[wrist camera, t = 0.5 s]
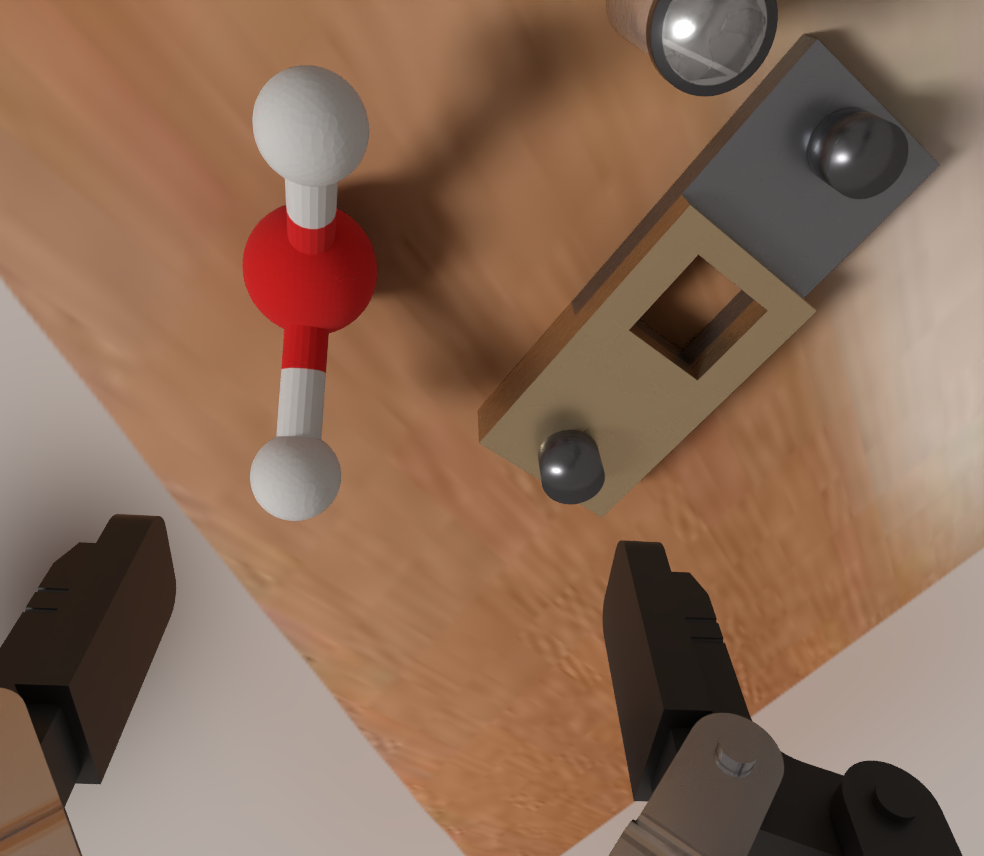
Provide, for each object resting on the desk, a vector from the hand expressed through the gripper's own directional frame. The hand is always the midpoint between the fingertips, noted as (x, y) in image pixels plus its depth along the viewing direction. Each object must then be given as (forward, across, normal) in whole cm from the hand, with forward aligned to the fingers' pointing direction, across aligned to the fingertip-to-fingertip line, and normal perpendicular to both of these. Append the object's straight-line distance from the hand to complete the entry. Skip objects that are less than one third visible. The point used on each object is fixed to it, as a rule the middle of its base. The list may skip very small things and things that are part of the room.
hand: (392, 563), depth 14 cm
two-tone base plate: (+24, -12, +5) cm, 27 cm away
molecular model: (+24, +5, +4) cm, 25 cm away
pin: (+24, -8, -7) cm, 27 cm away
